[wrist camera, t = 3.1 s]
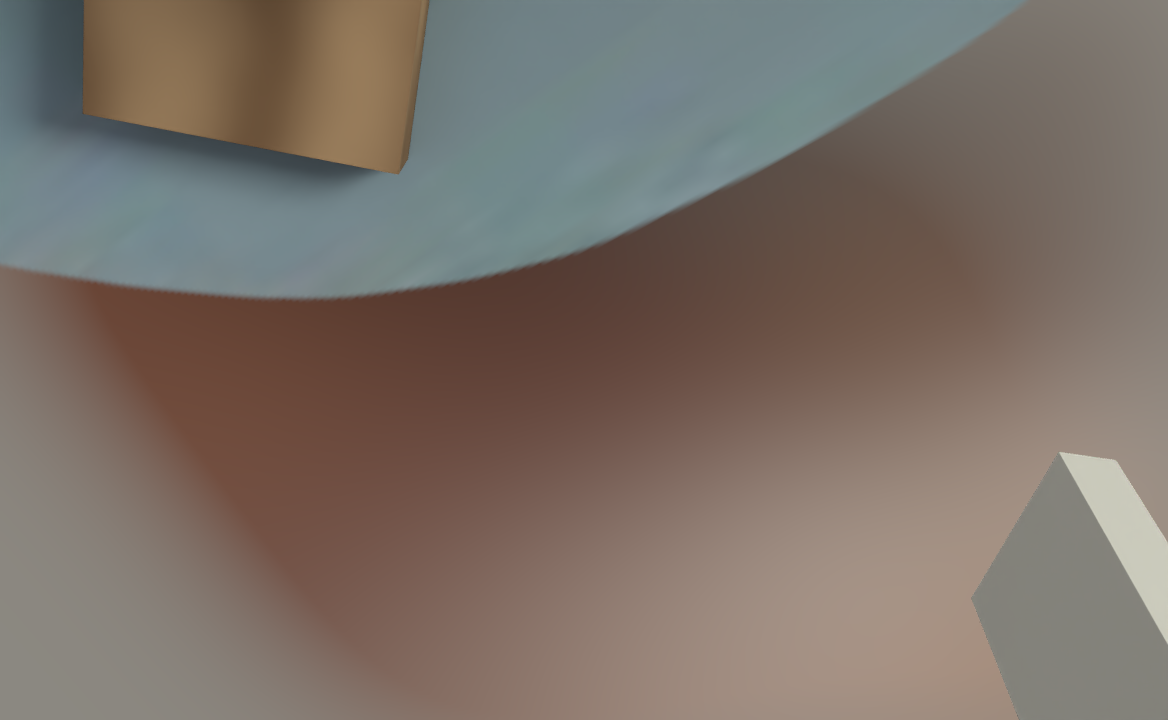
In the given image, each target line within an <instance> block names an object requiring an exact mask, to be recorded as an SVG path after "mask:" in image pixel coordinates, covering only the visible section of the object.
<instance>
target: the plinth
mask: <svg viewBox="0 0 1168 720" xmlns="http://www.w3.org/2000/svg"><path fill="white" fill-rule="evenodd" d="M428 7H429V0H84V43H83V114H87V115H92V116H97V117H103V118H108V119H113V120H118V121H123V122H128V123H134V124H139V125H144V126H149V127H154V128H160V129H165V130H170V131H175V132H180V133H186V134H191V135H196V136H201V137H206V138H212V139H217V140H222V141H227V142H232V143H238V144H243V145H248V146H253V147H258V148H264V149H269V150H274V151H279V152H284V153H290V154H295V155H300V156H305V157H310V158H316V159H321V160H326V161H331V162H336V163H342V164H347V165H352V166H357V167H362V168H367V169H373V170H378V171H383V172H388V173H393V174H399V173H400V171H401V169H402V168H403V166H404V165H405V163H406V161H407V160H408V154H409V147H410V139H411V132H412V125H413V117H414V110H415V103H416V95H417V88H418V81H419V73H420V66H421V59H422V51H423V44H424V37H425V29H426V22H427V14H428Z"/></svg>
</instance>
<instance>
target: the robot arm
mask: <svg viewBox="0 0 1168 720" xmlns="http://www.w3.org/2000/svg"><path fill="white" fill-rule="evenodd" d="M972 601H973V604H974V606H975V609H976V611H977V614H978V617H979V619H980V621H981V624H982V627H983V629H984V632H985V634H986V637H987V639H988V642H989V645H990V647H991V650H992V652H993V654H994V657H995V660H996V662H997V665H998V667H999V670H1000V673H1001V675H1002V677H1003V680H1004V683H1005V685H1006V688H1007V690H1008V693H1009V695H1010V698H1011V700H1012V703H1013V706H1014V708H1015V711H1016V713H1017V716H1018V718H1019V720H1168V543H1167V541H1166V539H1165V538H1164V536H1163V534H1162V533H1161V531H1160V530H1159V528H1158V526H1157V525H1156V523H1155V522H1154V520H1153V519H1152V517H1151V516H1150V514H1149V512H1148V511H1147V509H1146V507H1145V506H1144V504H1143V503H1142V501H1141V500H1140V498H1139V496H1138V495H1137V493H1136V491H1135V490H1134V488H1133V487H1132V485H1131V484H1130V482H1129V480H1128V479H1127V477H1126V476H1125V474H1124V472H1123V471H1122V469H1121V468H1120V466H1119V464H1118V463H1117V461H1116V460H1111V459H1104V458H1097V457H1089V456H1083V455H1076V454H1069V453H1062V452H1059V453H1058V454H1057V456H1056V458H1055V459H1054V461H1053V462H1052V464H1051V466H1050V467H1049V469H1048V471H1047V473H1046V474H1045V476H1044V477H1043V479H1042V481H1041V483H1040V484H1039V486H1038V488H1037V489H1036V491H1035V493H1034V494H1033V496H1032V498H1031V499H1030V501H1029V503H1028V504H1027V506H1026V508H1025V509H1024V511H1023V513H1022V514H1021V516H1020V518H1019V519H1018V521H1017V523H1016V524H1015V526H1014V528H1013V529H1012V531H1011V533H1010V534H1009V536H1008V538H1007V539H1006V541H1005V543H1004V544H1003V546H1002V548H1001V549H1000V551H999V553H998V554H997V556H996V558H995V559H994V561H993V563H992V564H991V566H990V568H989V569H988V571H987V573H986V574H985V576H984V578H983V579H982V581H981V583H980V585H979V586H978V588H977V589H976V591H975V593H974V595H973V596H972Z"/></svg>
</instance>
